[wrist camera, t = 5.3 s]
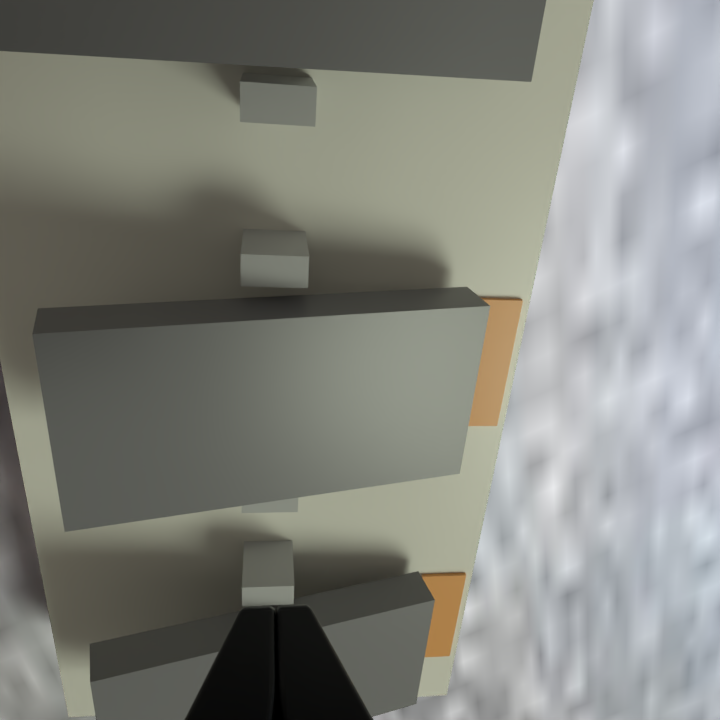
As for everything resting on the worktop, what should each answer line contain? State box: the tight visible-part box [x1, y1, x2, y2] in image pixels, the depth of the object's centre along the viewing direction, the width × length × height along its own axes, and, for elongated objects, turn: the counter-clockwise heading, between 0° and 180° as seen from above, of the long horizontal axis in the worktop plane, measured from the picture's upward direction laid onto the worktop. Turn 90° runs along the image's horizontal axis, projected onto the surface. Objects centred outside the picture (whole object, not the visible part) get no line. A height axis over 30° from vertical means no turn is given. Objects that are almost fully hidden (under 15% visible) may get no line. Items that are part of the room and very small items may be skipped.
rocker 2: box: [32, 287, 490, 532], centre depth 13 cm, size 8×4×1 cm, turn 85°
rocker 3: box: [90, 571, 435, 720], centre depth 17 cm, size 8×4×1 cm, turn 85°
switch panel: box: [0, 0, 594, 717], centre depth 15 cm, size 11×23×4 cm, turn 175°
